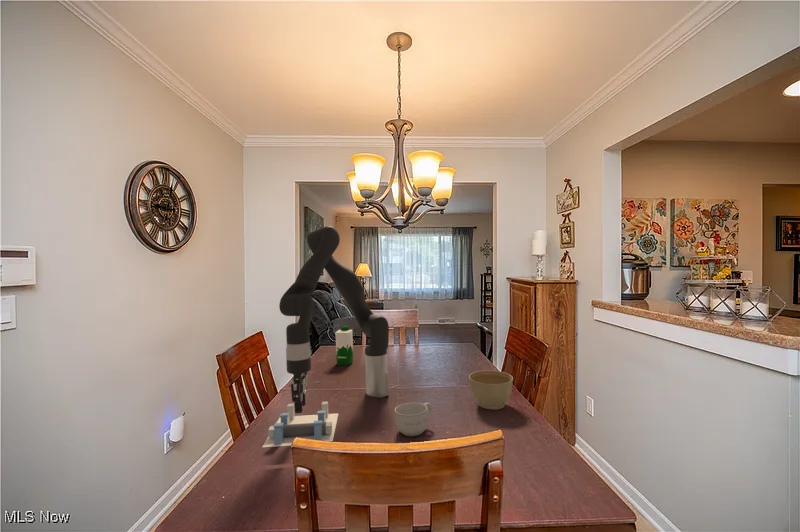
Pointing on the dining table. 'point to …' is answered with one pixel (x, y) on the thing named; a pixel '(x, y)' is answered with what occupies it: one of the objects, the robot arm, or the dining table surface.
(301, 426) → the dark grey dowel
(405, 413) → the teacup
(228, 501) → the dining table surface
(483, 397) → the planter bowl
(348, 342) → the milk carton
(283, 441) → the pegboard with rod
